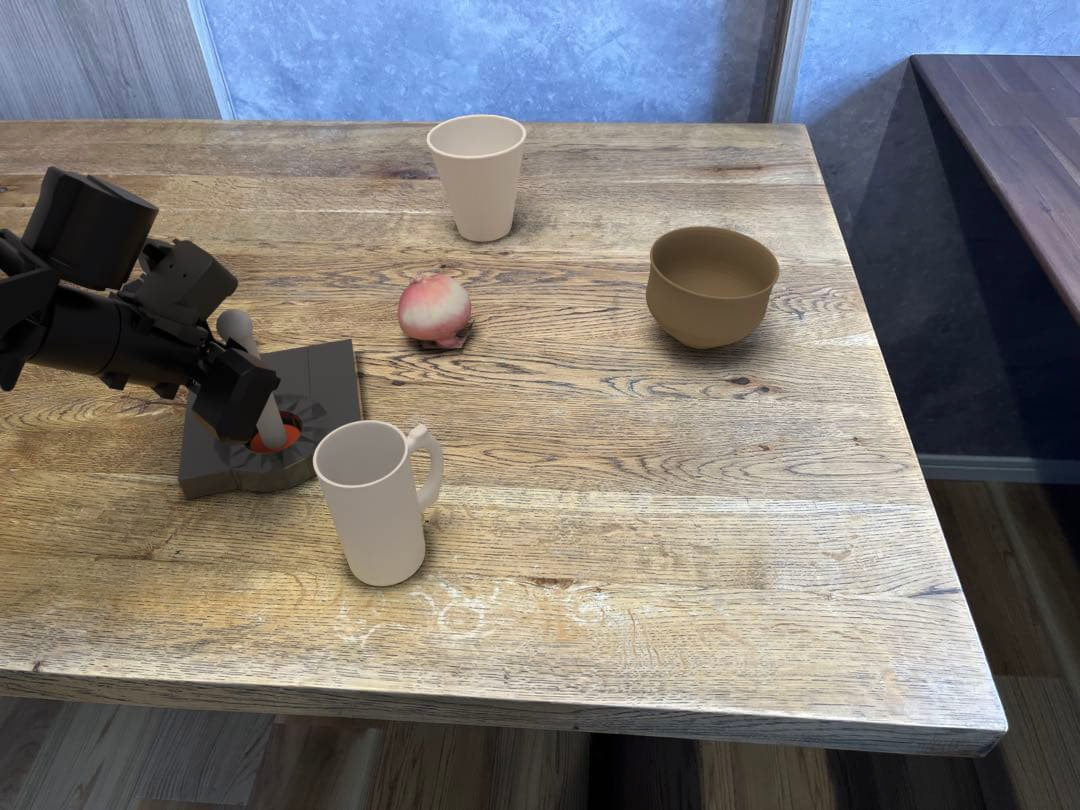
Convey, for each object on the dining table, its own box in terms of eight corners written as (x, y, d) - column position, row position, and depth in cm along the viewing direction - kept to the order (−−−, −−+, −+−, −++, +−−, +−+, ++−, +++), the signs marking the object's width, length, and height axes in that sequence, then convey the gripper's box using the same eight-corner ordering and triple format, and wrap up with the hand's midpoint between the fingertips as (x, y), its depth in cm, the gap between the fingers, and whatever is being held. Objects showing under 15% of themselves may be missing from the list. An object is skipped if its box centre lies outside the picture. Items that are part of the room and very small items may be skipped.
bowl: (763, 383, 80) (780, 299, 74) (635, 367, 83) (639, 284, 76) (767, 309, 89) (782, 228, 83) (651, 296, 92) (657, 217, 85)
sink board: (185, 509, 71) (176, 489, 69) (198, 384, 83) (190, 365, 82) (370, 472, 73) (365, 453, 72) (356, 357, 86) (351, 338, 84)
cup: (535, 205, 108) (531, 114, 100) (525, 253, 99) (520, 157, 91) (447, 204, 109) (436, 113, 101) (430, 251, 101) (416, 156, 92)
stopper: (253, 472, 74) (197, 333, 63) (254, 438, 77) (201, 300, 66) (304, 463, 74) (258, 323, 64) (303, 429, 78) (259, 291, 67)
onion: (457, 307, 92) (451, 251, 87) (488, 343, 87) (483, 286, 82) (391, 329, 89) (380, 274, 84) (419, 368, 84) (409, 311, 79)
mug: (376, 605, 63) (346, 503, 55) (329, 555, 67) (294, 452, 59) (476, 533, 68) (462, 429, 60) (428, 490, 72) (408, 386, 63)
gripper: (213, 280, 52) (377, 336, 65) (83, 192, 62) (249, 256, 75) (142, 434, 53) (318, 458, 67) (25, 323, 63) (199, 364, 76)
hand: (269, 377), depth 71 cm, fingers closed
